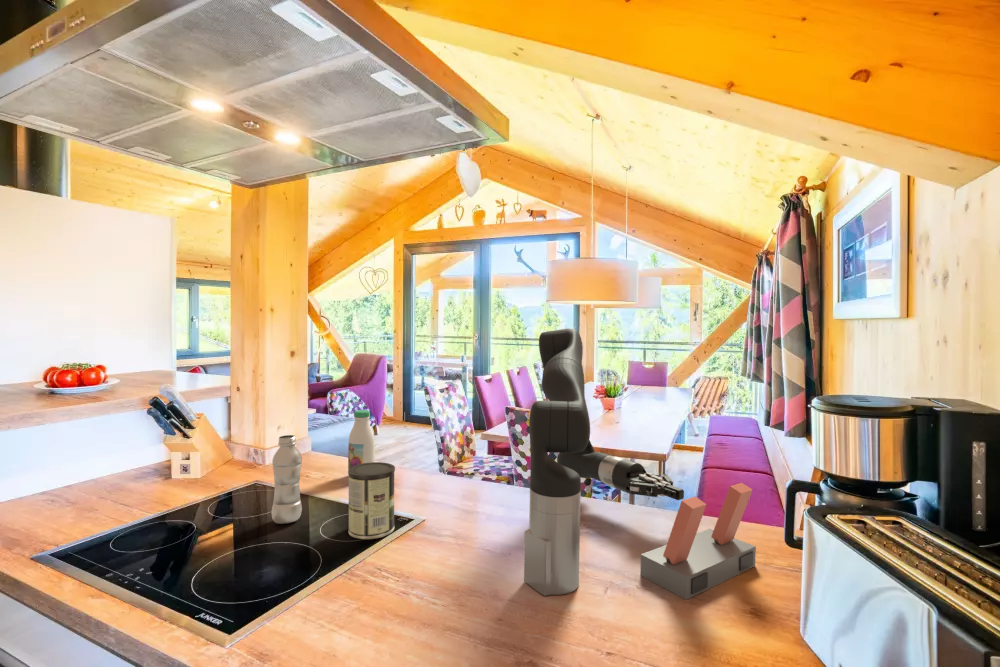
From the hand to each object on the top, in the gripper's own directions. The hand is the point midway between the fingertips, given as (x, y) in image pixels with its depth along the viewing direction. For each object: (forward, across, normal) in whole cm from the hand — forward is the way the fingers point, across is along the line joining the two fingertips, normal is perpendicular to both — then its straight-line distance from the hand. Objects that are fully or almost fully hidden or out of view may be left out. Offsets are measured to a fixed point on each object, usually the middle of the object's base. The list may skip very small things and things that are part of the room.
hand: (681, 495), depth 109 cm
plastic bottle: (-57, -70, +11) cm, 90 cm away
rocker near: (+10, -15, +6) cm, 19 cm away
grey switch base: (+10, -8, +10) cm, 16 cm away
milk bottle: (-81, -44, +11) cm, 93 cm away
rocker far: (+10, 0, +6) cm, 11 cm away
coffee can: (-42, -54, +11) cm, 70 cm away
